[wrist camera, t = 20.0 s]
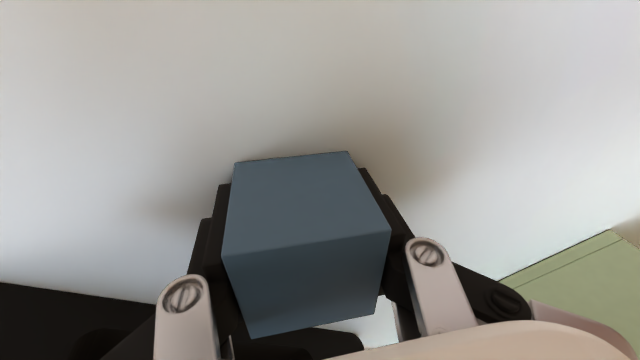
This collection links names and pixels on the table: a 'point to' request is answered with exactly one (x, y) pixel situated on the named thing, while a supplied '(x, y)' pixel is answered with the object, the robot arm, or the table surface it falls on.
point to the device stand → (128, 329)
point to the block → (303, 242)
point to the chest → (590, 283)
